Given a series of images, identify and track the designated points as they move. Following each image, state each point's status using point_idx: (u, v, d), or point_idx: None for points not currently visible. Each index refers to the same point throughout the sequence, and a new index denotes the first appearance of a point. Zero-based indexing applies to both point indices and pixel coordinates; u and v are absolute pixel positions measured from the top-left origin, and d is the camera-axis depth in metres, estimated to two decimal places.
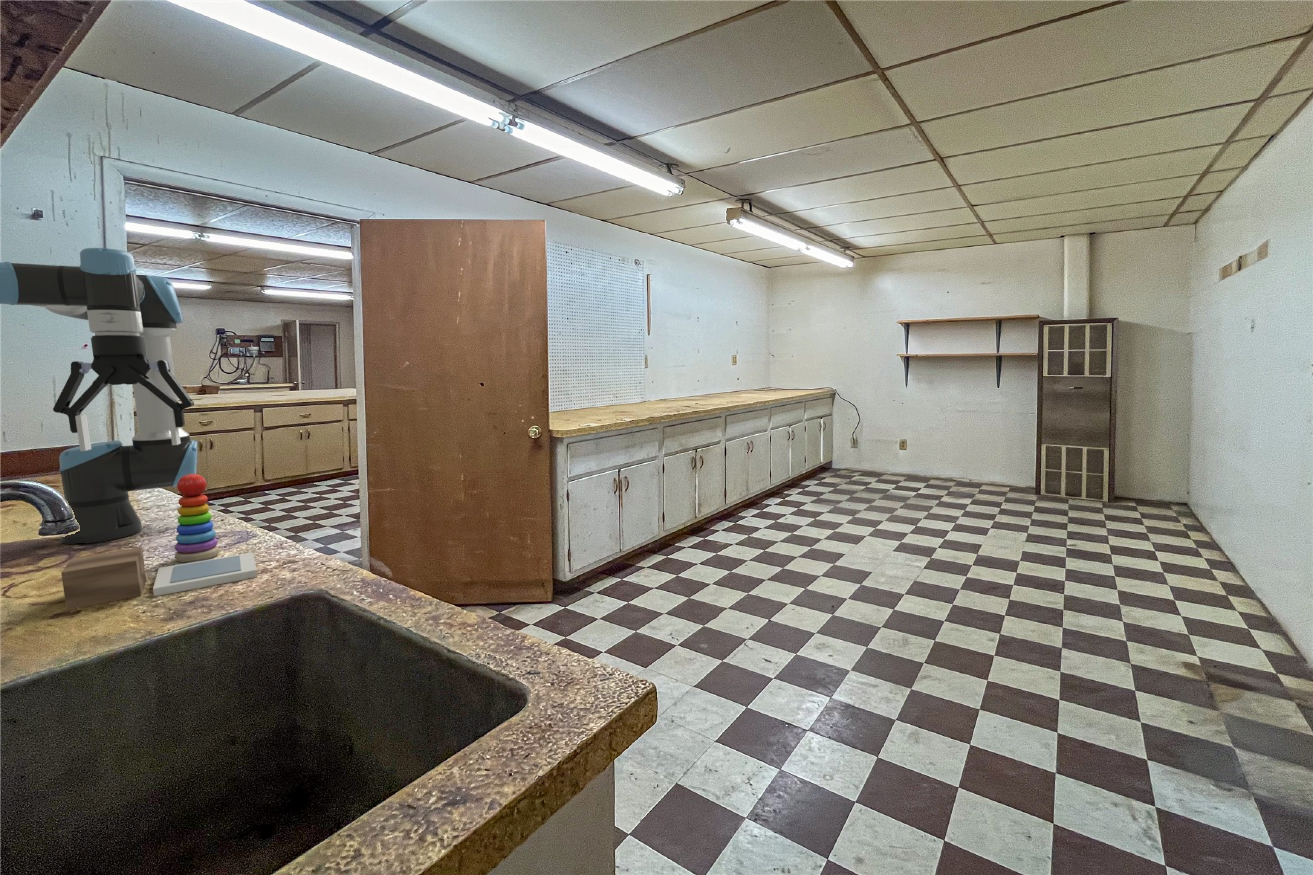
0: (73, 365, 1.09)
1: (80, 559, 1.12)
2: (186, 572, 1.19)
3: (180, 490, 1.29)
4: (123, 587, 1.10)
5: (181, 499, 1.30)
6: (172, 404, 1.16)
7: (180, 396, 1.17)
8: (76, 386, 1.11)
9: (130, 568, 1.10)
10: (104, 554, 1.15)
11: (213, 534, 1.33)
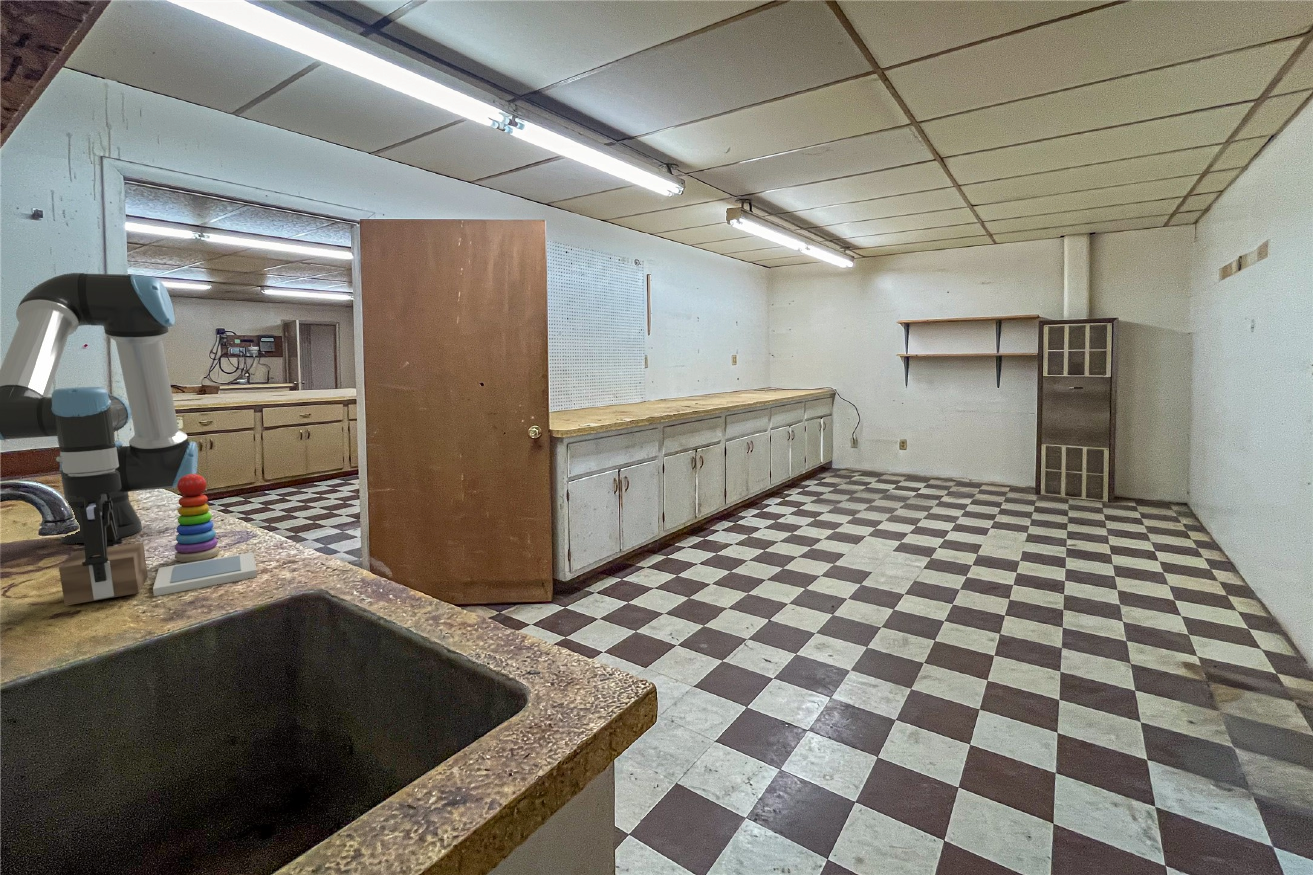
0: None
1: (81, 554, 1.12)
2: (186, 572, 1.19)
3: (180, 490, 1.29)
4: (120, 583, 1.10)
5: (181, 499, 1.30)
6: None
7: None
8: None
9: (127, 564, 1.10)
10: None
11: (213, 534, 1.33)
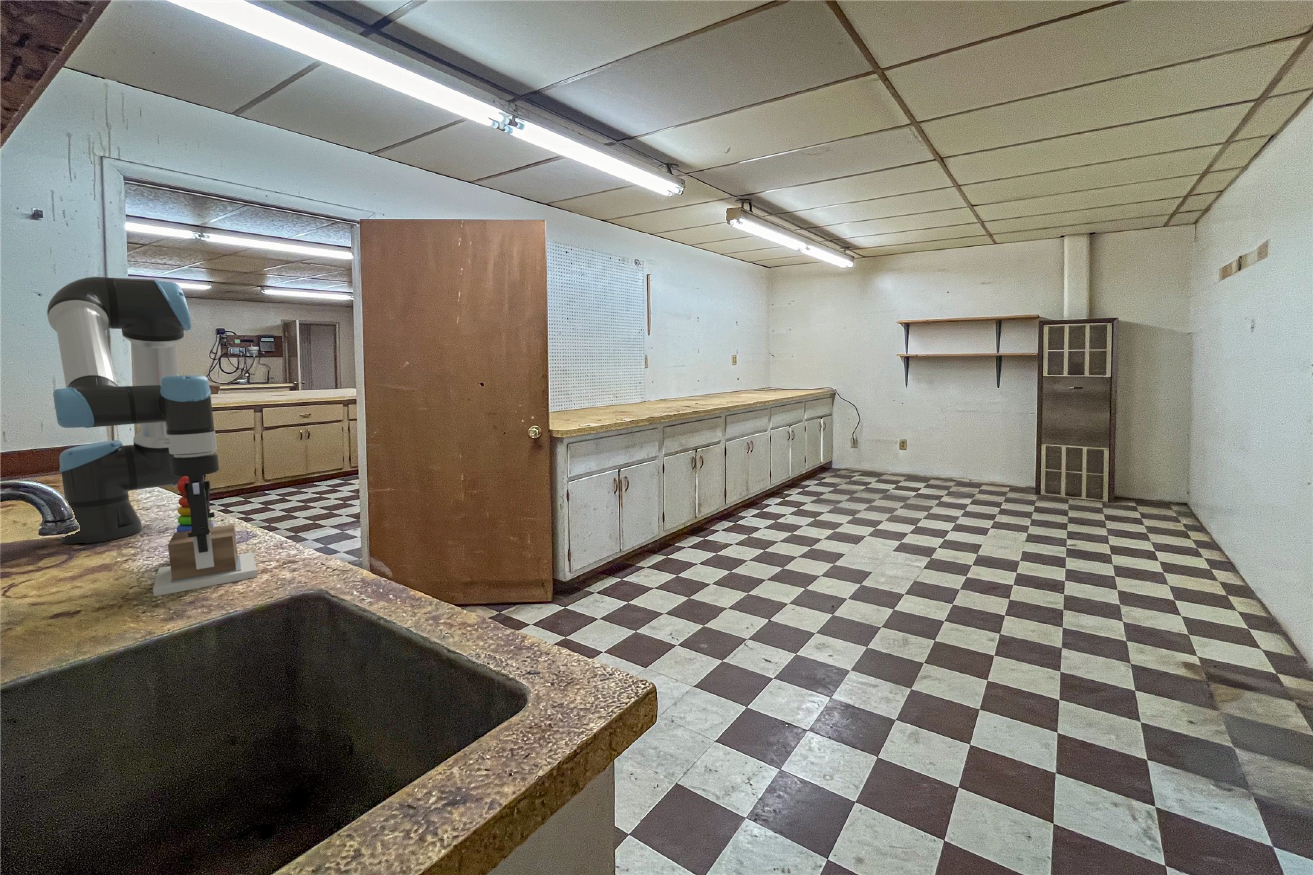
0: None
1: (181, 534, 1.21)
2: None
3: (180, 490, 1.29)
4: (220, 560, 1.18)
5: (181, 499, 1.30)
6: None
7: None
8: None
9: (226, 542, 1.19)
10: None
11: None
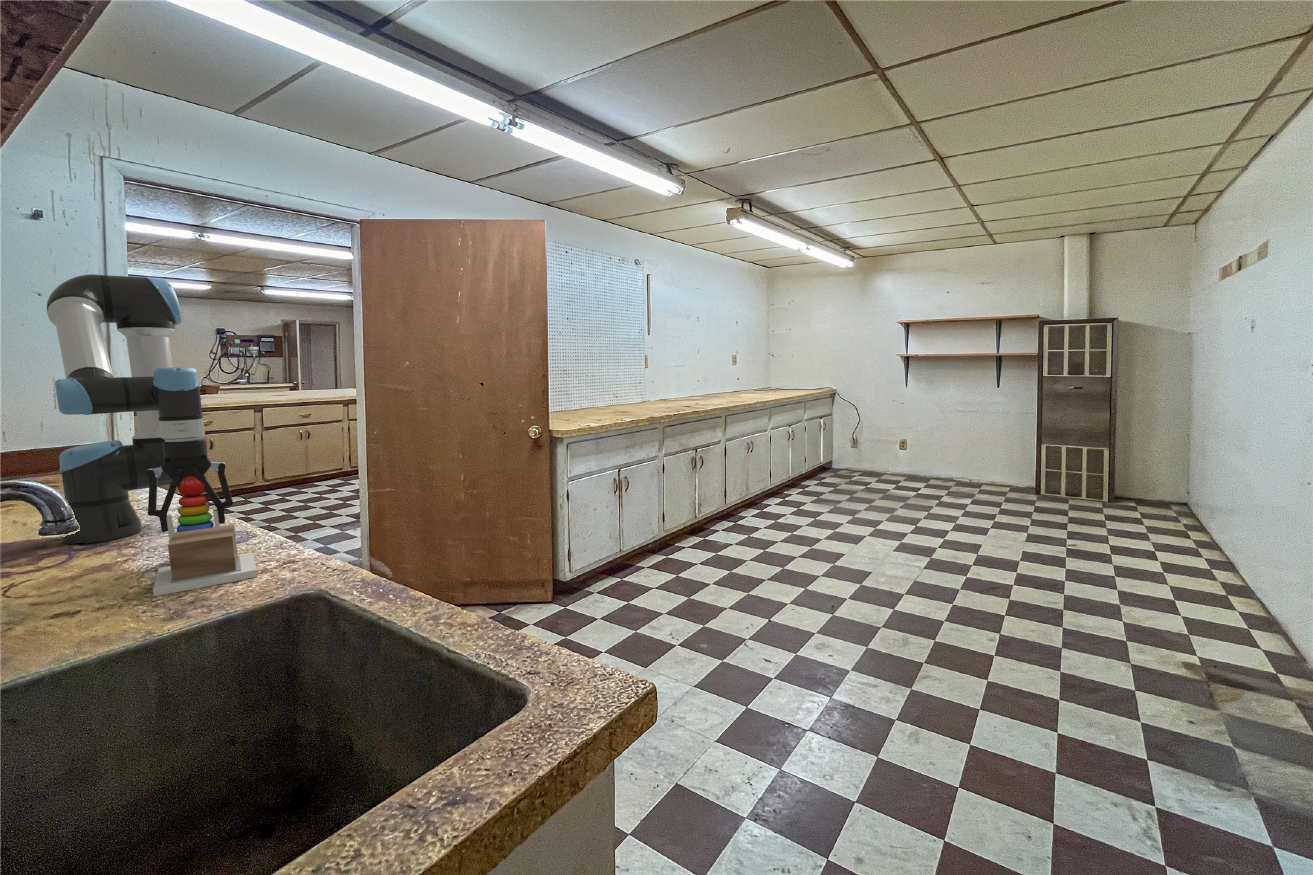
0: (148, 473, 1.26)
1: (181, 534, 1.21)
2: None
3: (180, 490, 1.29)
4: (220, 560, 1.18)
5: (181, 499, 1.30)
6: (218, 504, 1.33)
7: (226, 496, 1.34)
8: None
9: (226, 542, 1.19)
10: (202, 530, 1.23)
11: None
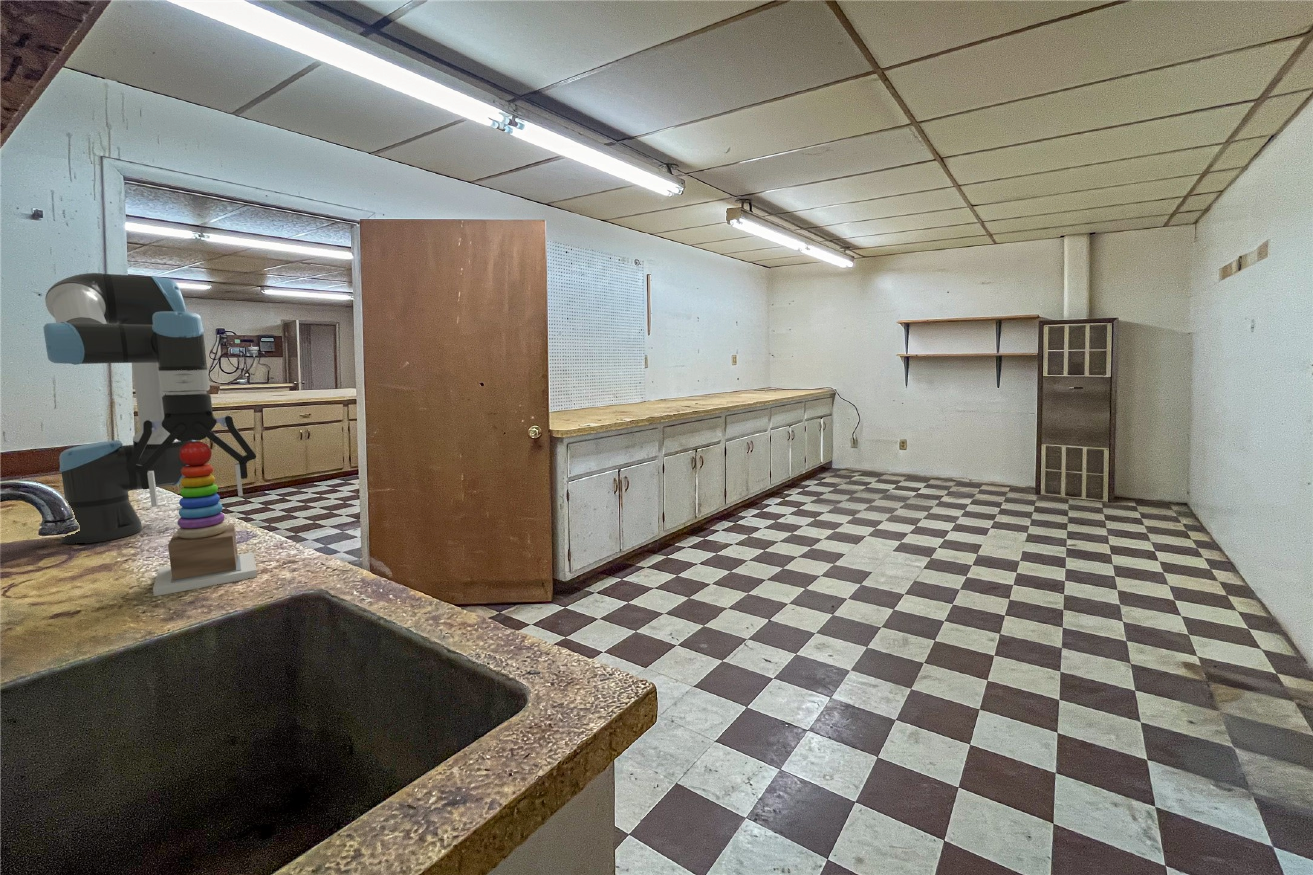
0: (146, 424, 1.13)
1: None
2: None
3: (183, 459, 1.16)
4: (221, 560, 1.18)
5: (184, 469, 1.17)
6: (238, 457, 1.22)
7: (246, 449, 1.22)
8: (146, 444, 1.14)
9: (227, 542, 1.19)
10: None
11: (220, 508, 1.20)
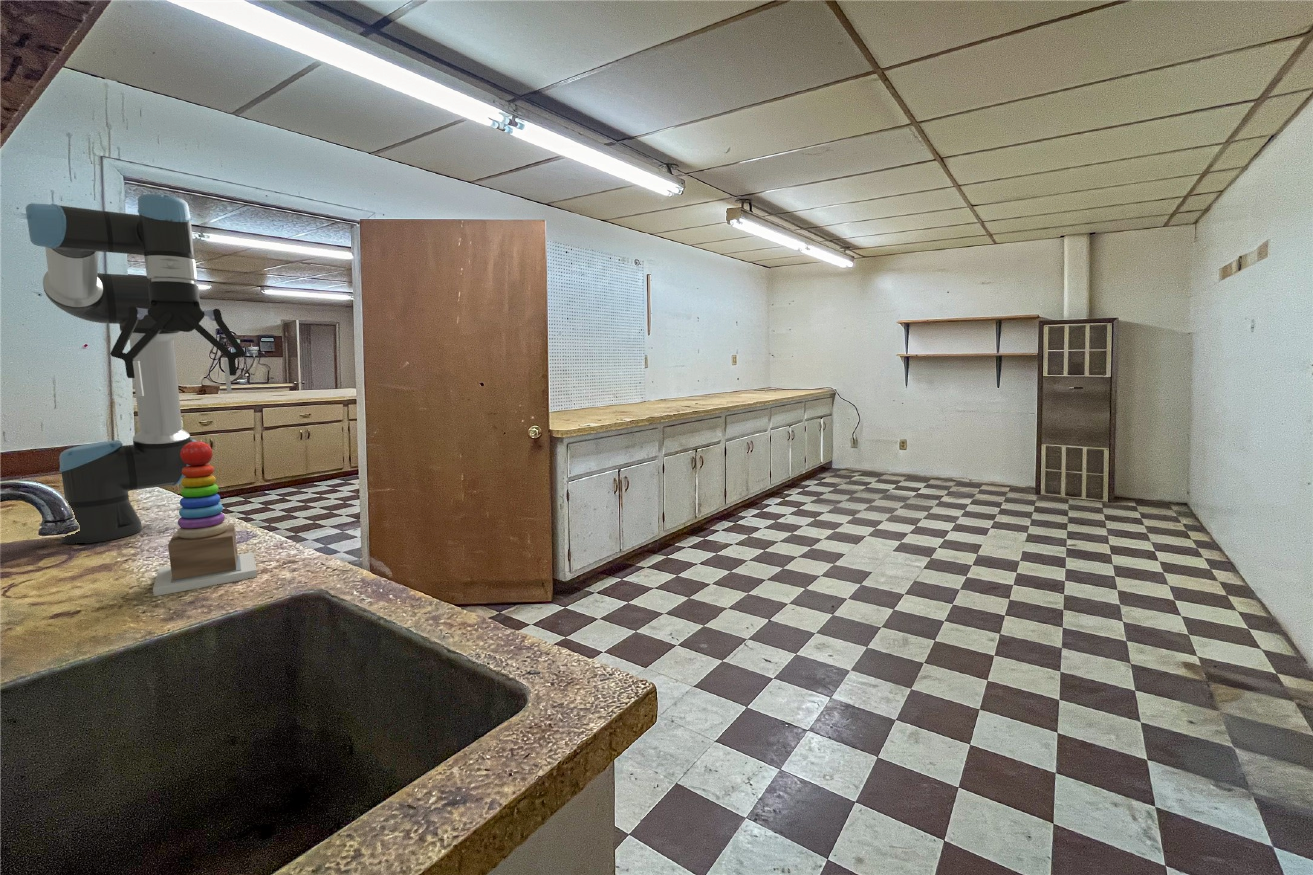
0: (131, 310, 1.10)
1: None
2: None
3: (184, 459, 1.16)
4: (221, 560, 1.18)
5: (185, 469, 1.17)
6: (227, 352, 1.19)
7: (235, 345, 1.19)
8: (131, 332, 1.11)
9: (227, 542, 1.19)
10: None
11: (220, 508, 1.20)
